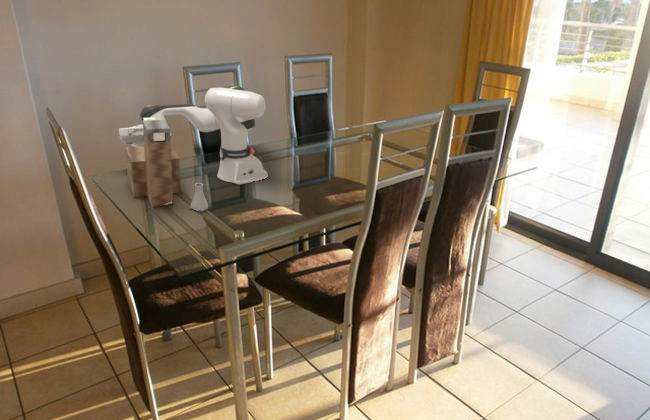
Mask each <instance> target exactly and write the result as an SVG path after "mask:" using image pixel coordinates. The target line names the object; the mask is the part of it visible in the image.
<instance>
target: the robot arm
mask: <svg viewBox="0 0 650 420" xmlns="http://www.w3.org/2000/svg"><path fill="white" fill-rule="evenodd" d="M204 104H205V107H206V108H203V107H202V108H201V107H199V106H196V104H194V103H193V104H191V103H185V104H184V103H182V104H167V105H166V104H165V105H161V104H160V105H158V104H157V105H155V104H154V105H152V104H151V105H147V106H145V107H143V108H142V109H141V111H140V114H139V117H140V119H141V122H143V118H153V117H154V118H155V120H165V121H166V122H167V120H166V117H165V116H170V115H172V116H173V115H181V116H183V117H185V118H186V119H187V120H188V122H190V123H191V125H192V126H193V127H194V128H195V129H196V130H198V131H200V132H202V133H210V132H214V131H216V130H217V131H218V130H220V136H221V137H220V139H221V144H220V145H219V146H220V149H219V157H220V162H219V168H218V171H217V175H216V176H217V178H218V179H219V180H221V181H224V182H227V183H233V184H236V185H243V184H249V183H250V184H251V183H254V182H253V181H255V182H259V180H260V181H263V180H262V179H265V178H267V177H268V178H269V175H268V174H269V173H268V171H266V170H265V168H264V167H263V166H264V165H263V162H261V161H260V159H259V158H258V157H256V156H255V155H254V154H255V152H256V151H255V150H254V149H253V148H252V147H251V146H250V145H248V132H250V131H251V130H253V129H254V128H255V127H256V119H260V118H262V116H263V115H264V114H265V112H266V107H267V106H266V101H265V98H264V96H263V95H261V94H258V93H256V92H253V91H249V90H246V89H245V88H243V87H242V86H232V87H230V88H229V87H220V86H219V87H211V88H209V89H208V90H207V91H206V93H205V96H204ZM118 134H119V139H120V141H121V143H122V144H125V145H126V144H127V145H128V144H129V145H131V147H138V146H144V136H143V134H144V131H143V123H142V124H137V125H134V126H130V127H128V126H127V127H119V128H118ZM171 139H172V133H171V132H170V140H171ZM268 178H267V179H268ZM265 180H266V179H265Z"/></svg>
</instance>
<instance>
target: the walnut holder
mask: <svg viewBox="0 0 650 420" xmlns="http://www.w3.org/2000/svg"><path fill="white" fill-rule="evenodd" d="M165 120H166V119H165ZM165 120H149V121H142V124H143V131H144V134H143V136H144V146H138V147H133V146H125V156H126V171H127V182H128V184H129V187H130V190H131V192H132V196H133V198H140V197H147V199H148V201H149V203H150V206H151V208H153V207H155V208H156V207H163V205H164V204H166V203H168V202H171V201H173V200H174V196H173V194H179V193H181V179H180V177H181V176H180V175H181V174H180V173H181V172H180V168H181V167H180V157H179V155H178V154H177V153H176V151H175V149H174V147H173V146H172V143H171V139H170V133H171V127H170V126H169V125H168V123H167V120H166V121H165ZM152 133H165V140H163V141H153V135H152Z"/></svg>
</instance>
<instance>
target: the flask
mask: <svg viewBox="0 0 650 420" xmlns="http://www.w3.org/2000/svg"><path fill="white" fill-rule="evenodd" d="M194 187H195V191H194V195H193V197H192V200H191V202H190V206H189V209H190V208H193V209H194V210H196V211H195V212H204V211H206V210H208V209H209V203H208V202H207V201H208V200H207V199H206V196H205V194H204V190H203V187H204V184H203V183H201V182H196V183H194ZM194 210H193V211H194Z"/></svg>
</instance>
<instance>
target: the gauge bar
mask: <svg viewBox="0 0 650 420" xmlns="http://www.w3.org/2000/svg"><path fill="white" fill-rule="evenodd" d="M149 120H155V118H154V117H153V118H143V121H149ZM143 121H142V122H143ZM152 135H153V141H163V140H165V133H152Z"/></svg>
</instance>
